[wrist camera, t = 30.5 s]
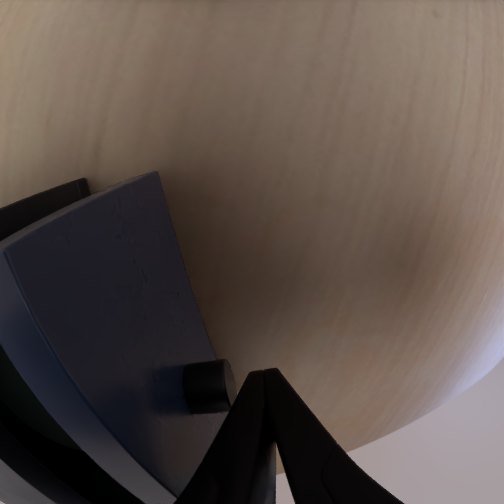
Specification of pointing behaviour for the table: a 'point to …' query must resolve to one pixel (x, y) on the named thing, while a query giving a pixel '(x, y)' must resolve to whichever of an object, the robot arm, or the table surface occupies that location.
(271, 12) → the table surface
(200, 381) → the drawer
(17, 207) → the dark grey storage bin
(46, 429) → the pale green puck
